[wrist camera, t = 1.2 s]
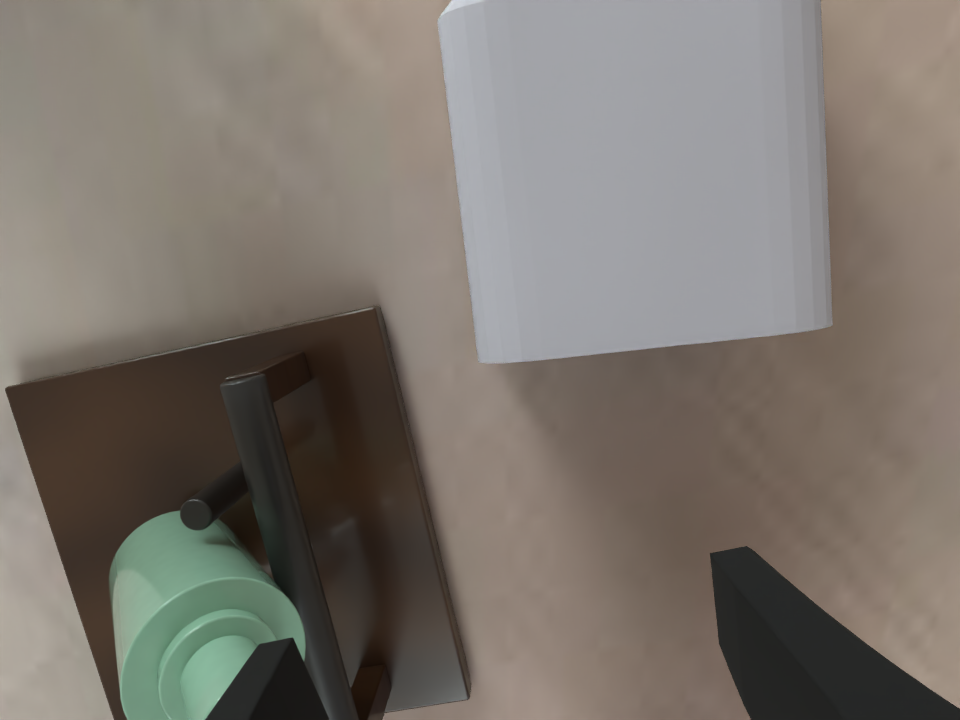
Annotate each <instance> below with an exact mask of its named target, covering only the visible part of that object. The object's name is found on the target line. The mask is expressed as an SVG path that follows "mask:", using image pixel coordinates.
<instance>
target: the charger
mask: <svg viewBox="0 0 960 720" xmlns="http://www.w3.org/2000/svg"><path fill="white" fill-rule="evenodd" d="M438 29H439V38H440V46H441V54H442V63H443V71H444V79H445V88H446V96H447V104H448V113H449V121H450V129H451V138H452V146H453V154H454V163H455V171H456V179H457V188H458V196H459V205H460V213H461V221H462V230H463V238H464V246H465V255H466V263H467V271H468V280H469V288H470V296H471V305H472V313H473V321H474V330H475V338H476V347H477V355H478V362H480V363H513V362H527V361H537V360H547V359H557V358H566V357H576V356H585V355H595V354H604V353H613V352H623V351H632V350H642V349H651V348H660V347H670V346H679V345H689V344H698V343H708V342H717V341H726V340H736V339H745V338H755V337H764V336H773V335H782V334H790V333H798V332H805V331H812V330H817V329H822V328H827V327H830V326H832V298H831V270H830V243H829V216H828V188H827V161H826V133H825V106H824V79H823V51H822V24H821V0H452V1H451V2H450V3H449V5H448V6H447V7H446V9H445V10H444V11H443V13H442V14H441V15H440V17H439V19H438Z"/></svg>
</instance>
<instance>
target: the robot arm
mask: <svg viewBox="0 0 960 720" xmlns="http://www.w3.org/2000/svg"><path fill="white" fill-rule="evenodd" d="M710 557H711V567H712V577H713V587H714V597H715V607H716V617H717V627H718V637H719V645H720V647H721V650H722V652H723V655H724V657H725V660H726V662H727V665H728V667H729V670H730V672H731V675H732V677H733V680H734V682H735V685H736V687H737V690H738V692H739V694H740V697H741V699H742V702H743V704H744V706H745V708H746V710H747V712H748V714H749V716H750V718H751V720H960V709H959V708H957V707H956V706H954V705H953V704H951V703H950V702H948V701H947V700H945V699H944V698H942V697H941V696H939V695H938V694H936V693H935V692H933V691H932V690H930V689H929V688H928V687H926V686H925V685H923V684H922V683H920V682H919V681H917V680H916V679H915V678H913V677H912V676H910V675H909V674H908V673H906V672H905V671H903V670H902V669H900V668H899V667H898V666H896V665H895V664H893V663H892V662H891V661H889V660H888V659H886V658H885V657H884V656H882V655H881V654H880V653H878V652H877V651H876V650H874V649H873V648H872V647H870V646H869V645H867V644H866V643H865V642H864V641H862V640H861V639H860V638H858V637H857V636H856V635H855V634H853V633H852V632H851V631H849V630H848V629H847V628H846V627H844V626H843V625H842V624H840V623H839V622H838V621H837V620H835V619H834V618H833V617H831V616H830V615H829V614H828V613H826V612H825V611H824V610H823V609H821V608H820V607H819V606H818V605H816V604H815V603H814V602H813V601H812V600H810V599H809V598H808V597H807V596H806V595H804V594H803V593H802V592H801V591H800V590H798V589H797V588H796V587H795V586H794V585H793V584H791V583H790V582H789V581H788V580H787V579H785V578H784V577H783V576H782V575H781V574H780V573H779V572H777V571H776V570H775V569H774V568H773V567H772V566H771V565H769V564H768V563H767V562H766V561H765V560H764V559H763V558H761V557H760V556H759V555H758V554H757V553H756V552H755V551H754V550H752V549H750V548H749V547H747V546H745V547H740V548H735V549H730V550H725V551H720V552H715V553H710ZM205 720H329V717H328V715H327V712H326V710H325V708H324V706H323V704H322V701H321V699H320V697H319V695H318V692H317V690H316V688H315V686H314V683H313V681H312V679H311V677H310V674H309V672H308V670H307V668H306V665H305V663H304V661H303V659H302V656H301V654H300V652H299V650H298V647H297V645H296V643H295V641H294V638H293V637H291V638H286V639H282V640H277V641H272V642H267V643H262V644H259V645H258V646H257V647H256V649H255V650H254V652H253V653H252V654H251V656H250V657H249V658H248V660H247V661H246V663H245V664H244V665H243V667H242V668H241V670H240V671H239V672H238V674H237V675H236V677H235V678H234V679H233V681H232V682H231V684H230V685H229V687H228V688H227V689H226V691H225V692H224V694H223V695H222V696H221V698H220V699H219V701H218V702H217V703H216V705H215V706H214V708H213V709H212V711H211V712H210V713H209V715H208V716H207V718H206V719H205Z"/></svg>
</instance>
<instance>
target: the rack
mask: <svg viewBox="0 0 960 720" xmlns="http://www.w3.org/2000/svg"><path fill="white" fill-rule="evenodd" d="M5 391H6V394H7V397H8V400H9V403H10V406H11V409H12V412H13V415H14V418H15V421H16V425H17V428H18V431H19V434H20V437H21V440H22V443H23V446H24V449H25V452H26V455H27V458H28V461H29V464H30V467H31V470H32V473H33V476H34V479H35V482H36V485H37V488H38V491H39V494H40V497H41V500H42V503H43V506H44V509H45V512H46V515H47V518H48V521H49V524H50V527H51V530H52V533H53V536H54V539H55V542H56V546H57V549H58V552H59V555H60V558H61V561H62V564H63V567H64V570H65V573H66V576H67V579H68V582H69V585H70V588H71V591H72V594H73V597H74V600H75V603H76V606H77V609H78V612H79V615H80V618H81V621H82V624H83V627H84V630H85V633H86V636H87V639H88V642H89V645H90V648H91V651H92V654H93V657H94V660H95V663H96V667H97V670H98V673H99V676H100V679H101V682H102V685H103V688H104V691H105V694H106V697H107V700H108V703H109V706H110V709H111V712H112V715H113V718H114V720H127V718H126V716H125V713H124V711H123V707H122V703H121V699H120V689H119V680H118V671H117V661H116V652H115V642H114V633H113V623H112V614H111V605H110V595H109V584H108V582H109V572H110V568H111V564H112V562H113V559H114V557H115V555H116V553H117V551H118V549H119V548H120V546H121V545H122V543H123V542H124V541H125V540H126V538H127V537H128V536H129V535H130V534H131V533H132V532H133V531H135V530H136V529H137V528H138V527H140V526H141V525H142V524H144V523H145V522H147V521H149V520H151V519H153V518H155V517H157V516H160V515H162V514H166V513H169V512H174V511H180V518H181V521H182V522H183V524H184V525H185V526H186V527H187V528H189V529H191V530H196V531H198V530H204V529H206V528H207V527H209V526H210V525H211V524H212V523H213V522H214V521H215V520H217V519H218V518H219V519H220V520H221V521H223V522H224V523H226V524H227V525H228V526H229V527H230V528H231V529H232V531H233V532H234V533H235V534H236V535H237V537H238V538H239V539H240V540H241V541H242V543H243V544H244V545H245V546H246V548H247V549H248V550H249V551H250V552H251V554H252V555H253V556H254V557H255V558H256V560H257V561H258V562H259V563H260V564H261V566H262V567H263V568H264V569H265V570H266V572H267V573H268V574H269V575H270V576H271V578H272V579H273V580H274V581H275V582H276V584H277V585H278V586H279V587H280V588H281V590H282V591H283V592H284V593H285V595H286V596H287V597H288V598H289V599H290V601H291V602H292V603H293V605H294V606H295V607H296V609H297V611H298V613H299V615H300V617H301V620H302V623H303V626H304V631H305V639H306V651H305V659H304V663H305V665H306V668H307V670H308V672H309V674H310V677H311V679H312V681H313V683H314V686H315V688H316V690H317V692H318V695H319V697H320V699H321V701H322V704H323V706H324V708H325V710H326V712H327V715H328V717H329V720H382V719H383V716H384V713H387V712H394V711H400V710H406V709H413V708H419V707H425V706H432V705H438V704H444V703H451V702H457V701H463V700H468V699H469V698H470V692H471V682H470V678H469V673H468V669H467V665H466V661H465V657H464V653H463V649H462V644H461V640H460V636H459V632H458V628H457V624H456V620H455V615H454V611H453V607H452V603H451V599H450V595H449V591H448V586H447V582H446V578H445V574H444V570H443V566H442V561H441V557H440V553H439V549H438V545H437V541H436V537H435V532H434V528H433V524H432V520H431V516H430V512H429V508H428V503H427V499H426V495H425V491H424V487H423V483H422V478H421V474H420V470H419V466H418V462H417V458H416V454H415V449H414V445H413V441H412V437H411V433H410V429H409V425H408V420H407V416H406V412H405V408H404V404H403V400H402V396H401V391H400V387H399V383H398V379H397V375H396V371H395V366H394V362H393V358H392V354H391V350H390V346H389V342H388V337H387V333H386V329H385V325H384V321H383V317H382V313H381V308H380V307H379V306H372V307H368V308H363V309H358V310H354V311H349V312H345V313H340V314H336V315H331V316H326V317H322V318H317V319H313V320H308V321H304V322H299V323H294V324H290V325H285V326H281V327H276V328H272V329H267V330H262V331H258V332H253V333H249V334H244V335H239V336H235V337H230V338H226V339H221V340H217V341H212V342H207V343H203V344H198V345H194V346H189V347H185V348H180V349H175V350H171V351H166V352H162V353H157V354H153V355H148V356H143V357H139V358H134V359H130V360H125V361H121V362H116V363H111V364H107V365H102V366H98V367H93V368H89V369H84V370H79V371H75V372H70V373H66V374H61V375H57V376H52V377H47V378H43V379H38V380H34V381H29V382H24V383H20V384H16V385H12V386H8V387H7V388H5Z"/></svg>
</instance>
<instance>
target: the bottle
mask: <svg viewBox="0 0 960 720" xmlns="http://www.w3.org/2000/svg"><path fill="white" fill-rule="evenodd" d="M108 584H109V595H110V605H111V614H112V623H113V633H114V642H115V652H116V661H117V671H118V680H119V689H120V699H121V703H122V707H123V711H124V713H125V716H126V718H127V720H205V719H206V718H207V716H208V715H209V713H210V712H211V711H212V709H213V708H214V706H215V705H216V703H217V702H218V701H219V699H220V698H221V696H222V695H223V694H224V692H225V691H226V689H227V688H228V687H229V685H230V684H231V682H232V681H233V679H234V678H235V677H236V675H237V674H238V672H239V671H240V670H241V668H242V667H243V665H244V664H245V663H246V661H247V660H248V658H249V657H250V656H251V654H252V653H253V652H254V650H255V649H256V647H257V646H258V645H259V644H262V643H267V642H272V641H277V640H282V639H286V638H291V637H293V638H294V641H295V643H296V645H297V647H298V650H299V652H300V654H301V656H302V659H303V661H304V659H305V651H306V639H305V631H304V626H303V623H302V620H301V617H300V615H299V613H298V611H297V609H296V607H295V606H294V605H293V603H292V602H291V601H290V599H289V598H288V597H287V596H286V595H285V593H284V592H283V591H282V590H281V588H280V587H279V586H278V585H277V584H276V582H275V581H274V580H273V579H272V578H271V576H270V575H269V574H268V573H267V572H266V570H265V569H264V568H263V567H262V566H261V564H260V563H259V562H258V561H257V560H256V558H255V557H254V556H253V555H252V554H251V552H250V551H249V550H248V549H247V548H246V546H245V545H244V544H243V543H242V541H241V540H240V539H239V538H238V537H237V535H236V534H235V533H234V532H233V531H232V529H231V528H230V527H229V526H228V525H227V524H226V523H224V522H223V521H221V520H220V519H219V518H218V519H217V520H215V521H214V522H213V523H212V524H211V525H210V526H209V527H207V528H206V529H204V530H198V531H196V530H191V529H189V528H187V527H186V526H185V525H184V524H183V522H182V521H181V518H180V511H174V512H169V513H166V514H162V515H160V516H157V517H155V518H153V519H151V520H149V521H147V522H145V523H144V524H142V525H141V526H140V527H138V528H137V529H136V530H135V531H133V532H132V533H131V534H130V535H129V536H128V537H127V538H126V540H125V541H124V542H123V543H122V545H121V546H120V548H119V549H118V551H117V553H116V555H115V557H114V559H113V562H112V564H111V568H110V572H109V582H108Z"/></svg>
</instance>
